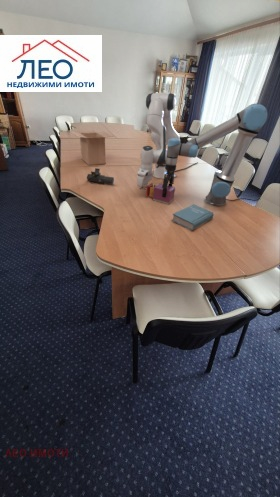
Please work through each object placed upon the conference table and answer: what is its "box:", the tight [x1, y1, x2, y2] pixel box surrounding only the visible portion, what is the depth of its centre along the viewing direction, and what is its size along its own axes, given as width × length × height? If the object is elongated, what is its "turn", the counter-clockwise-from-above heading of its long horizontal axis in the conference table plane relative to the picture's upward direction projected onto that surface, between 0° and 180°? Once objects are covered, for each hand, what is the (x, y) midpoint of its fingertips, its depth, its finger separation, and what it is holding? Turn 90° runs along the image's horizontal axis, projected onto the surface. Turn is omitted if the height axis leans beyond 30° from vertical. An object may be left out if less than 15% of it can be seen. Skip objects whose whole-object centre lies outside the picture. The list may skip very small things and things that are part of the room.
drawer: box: [139, 182, 158, 199], centre depth 167 cm, size 17×9×8 cm, turn 63°
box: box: [70, 129, 114, 166], centre depth 229 cm, size 44×36×27 cm
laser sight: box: [86, 168, 115, 185], centre depth 184 cm, size 10×22×10 cm, turn 78°
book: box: [171, 203, 215, 231], centre depth 142 cm, size 23×16×5 cm
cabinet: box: [152, 183, 176, 205], centre depth 164 cm, size 13×10×10 cm
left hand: (144, 188), depth 169 cm, fingers closed, pressing on drawer
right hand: (166, 194), depth 163 cm, fingers closed on cabinet, 10 cm apart
